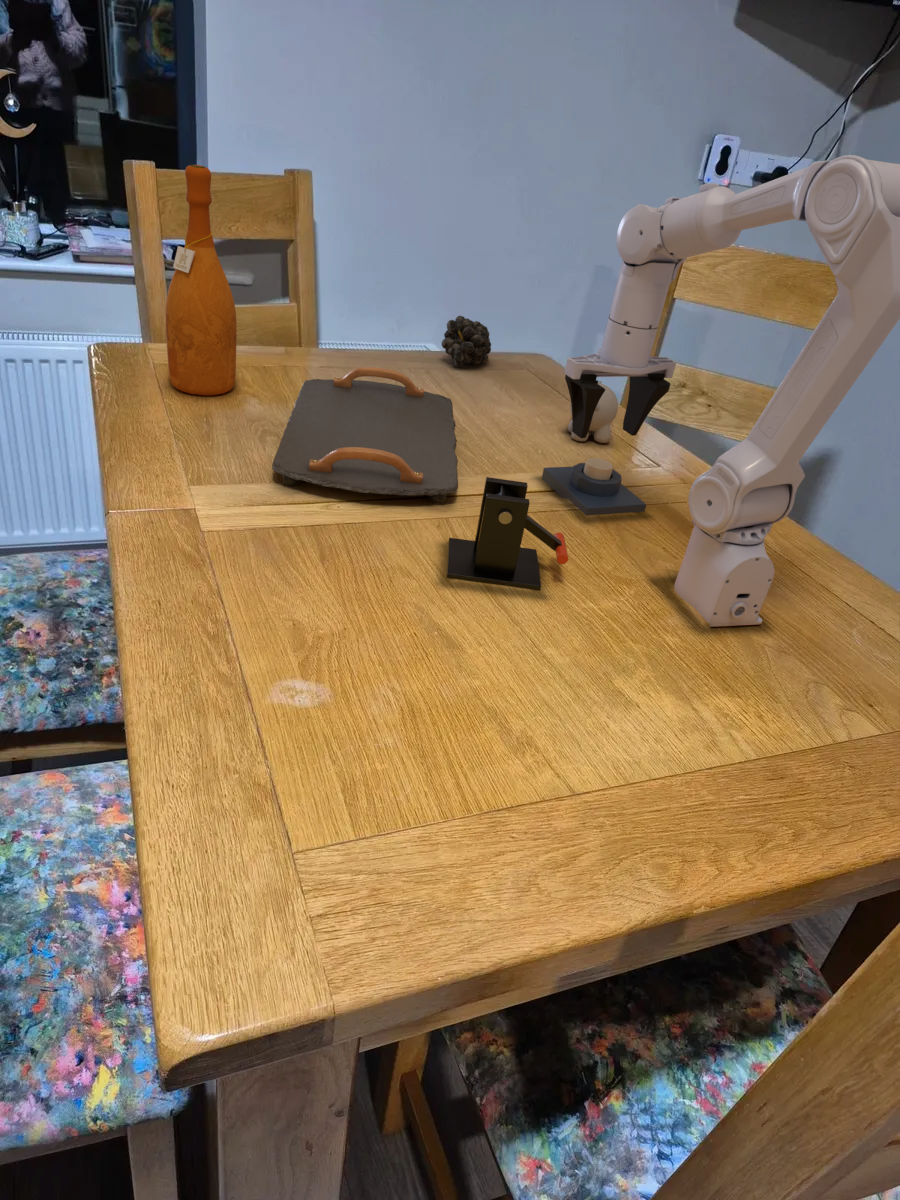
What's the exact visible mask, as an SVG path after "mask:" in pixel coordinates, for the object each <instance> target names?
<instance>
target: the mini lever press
mask: <svg viewBox="0 0 900 1200" xmlns="http://www.w3.org/2000/svg"><path fill="white" fill-rule="evenodd" d="M501 486H503V487H505V488H506V489H507V490H508V491H510V492H511V493H512V494H514V495H515V496H516V497H510V496H503V495H496V494H494V493H495V492H496V491H497V490H498V489H499V488H500V487H501ZM528 487H529V486H528V482H524V481H517V480H511V479H504V478H503V479H502V478H496V477H489V476H486V478H485V482H484V488H483V494H482V498H481V499H482V500H481V505H480V510H479V516H478V520H477V528H476V533H475V538H474V540H470V539H463V538H456V537H448V543H447V545H448V547H447V559H446V560H447V562H446V563H447V564H446V579H451V580H460V581H464V582H465V581H466V582H473V583H481V584H488V585H496V586H503V587H508V588H509V587H510V588H518V589H524V590H533V591H541V588H542V583H541V576H540V568H539V559H538V551H537V549H535V548H528V547H521V545H522V542H523V536H524V532H525V528H524V527H525V523H526V518H527V515H528V513H529V508H530V504H531V503H530V499H529V498H526V496H527V492H528ZM517 497H518V498H517Z"/></svg>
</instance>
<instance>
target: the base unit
mask: <svg viewBox="0 0 900 1200" xmlns="http://www.w3.org/2000/svg"><path fill="white" fill-rule="evenodd" d="M585 463H586V462H579V463H577V464H575V465H573V466H554V467H553V466H550V467H543V471H542V475H541V480H543V482H544V483H546V484H547V486H549V488H551V489H552V490H553V491H554V492H555V493H556V494H557V495H558V496H559V497H560V498H561V499H567V500H569V501H570V502H571V504H573V505H574V506H575V507H576V508H577V509H578V510H579V511H580V512H581V513H582V514H583V515H584V516H600V515H615V514H629V513H644V512H645V511H646V507H647V503H646V502H644V501H643V500H642V499H641V498H639V497H638V496H637V495H636V494H634V493H633V491H631V490H630V489H629V488H628V487H626V485H624V484H623V483H622V474H620V472H618V471H617V470H615V468H613V469H612V473H611V477H610V479H609V480H597V479H593V478H590V477H588V476H586V475H585V474H583V471H584V467H585Z"/></svg>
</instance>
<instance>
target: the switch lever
mask: <svg viewBox="0 0 900 1200" xmlns="http://www.w3.org/2000/svg"><path fill="white" fill-rule="evenodd" d="M494 494H496V495H503V496H510V497H516V496H515V495H514V494H512V493H511V492H510V491H508V490H507V489H506V488H505V487H503V486H501V487H500V488H499V489H498V490H497V491H496V492H495V493H494ZM517 498H518V497H517ZM524 530H526V531H528V532H529V533H530V534H532V535H533V536H534V537H536V538H537V539H538V540H539V541H541V542H542V543H543V544H545V545H546V546H547V547H549V548H550V549H552V550H553V551H554V552H555V556H556V561H557V563H558V564H559V565H565V564H567V563H568V562H569V554H568V549H567V544H566V539H565V534H564V533H562V532H555V533H554V534H553V533H552V532H550V531H549V530H548V529H546V528H545V527H544V526H543V525H541V523H539V522H537V521H536V520H535V519H533V518H532V517H530V516H529V515H528V514H527V518H526V523H525V527H524Z"/></svg>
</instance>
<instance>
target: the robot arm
mask: <svg viewBox="0 0 900 1200" xmlns="http://www.w3.org/2000/svg"><path fill="white" fill-rule="evenodd" d="M698 191H699V192H697V193H695V194H691V195H689V196H685V197H683V198H680V197H677V196H671V197H669V198H666V199H665V201H664V204H662V205H660V206H659V207H653V206H650V205H647V204H642V203H638V204H636V205H635V206H634V207H632V208H631V209H629V210H627V211H626V213H625V214H624V215H623V217H622V218H621V220H620V222H619V224H618V228H617V232H616V247H617V252H618V254H619V257H620V258H621V263H620V268H619V271H618V277H617V281H616V284H615V288H614V293H613V297H612V300H611V301H612V302H611V306H610V310H609V314H608V318H607V323H606V327H605V332H604V334H603V339H602V343H601V347H600V348H599V349H598V352H596V353H591V354H585V355H581V356H570V357H569V356H568V357H567V358H566V364H565V366H564V367H565V368H564V372H563V374H564V375H565V376H564V380H565V382H566V385H567V389H568V393H569V397H570V406H571V405H572V415H571V417H572V419H571V420H572V432H573V433H574V434H576V435H577V436H578V437H580V438H586V436H587V434H588V431H589V428H590V425H591V421H592V417H593V414H594V411H595V409H596V406H597V404H598V402H599V400H600V398H601V397H602V395H603V393H604V392H605V388H603V387H602V386H600V385H599V384H598V382H599V380H597V379H598V378H617V377H619V378H623V377H625V378H626V377H627V378H629V389H628V398H627V403H626V408H625V412H624V417H623V421H622V422H623V423H622V430H623V431H624V432H626V433H627V434H629V435H630V436H637V434H638V432H639V431H640V429H641V427H642V425H643V424H644V422H645V421H646V419H647V417H648V415H649V414H650V412H651V411H652V410H653V408H654V407H655V406H656V405H657V403H658V402H659V401H660V400H661V399H662V398H663V397H664V396H665V395H667V393H669V392H670V388H671V383H670V382H669V381H667V380H666V379H672V378H673V377H674V374H675V369H676V366H677V362H676V361H675V360H673V359H671V358H669V357H667V356H653V355H651V354H652V351H653V347H654V344H655V339H656V336H657V333H658V329H659V325H660V321H661V318H662V314H663V311H664V307H665V303H666V299H667V296H668V292H669V288H670V286H671V283H673V281H674V280H676V278H677V274H678V271H679V269H680V267H681V265H682V264H683V263H684V262H685V261H686V260H688V258H691V257H695V256H698V255H699V256H700V255H703V254H706V253H712V252H716V251H719V250H724V249H727V248H729V247H731V246H732V245H734V243H736V241H737V240H738V238H739V237H740V235H741V233H742V231H744V230H749V229H754V228H758V227H763V226H769V225H773V224H778V223H783V222H786V221H791V220H797V221H800V222H806V225H807V227H808V230H809V232H810V234H811V235H812V237H813V239H814V241H815V243H816V244H817V246H818V248H819V250H820V252H821V254H822V256H823V258H824V259H825V261H826V263H827V265H828V267H829V269H830V271H831V272H832V274H833V276H834V278H835V279H834V280H835V284H836V286H837V287H836V288H837V294H836V296H835V297H834V299H833V301H832V302H831V303H830V305H829V306H828V308H827V310H826V311H825V313H824V314H823V316H822V318H821V319H820V321H819V322H818V324H817V326H816V327H815V329H814V331H813V332H812V334H811V335H810V337H809V338H808V340H807V341H806V343H805V345H804V346H803V347H802V350H801V351H800V352H799V354H798V356H796V359H795V360H794V362H793V364H792V365H791V367H790V368H789V369H788V371H787V373H786V374H785V376H784V377H783V379H782V381H781V382H780V384H779V386H778V387H777V389H776V390H775V392H774V393H773V395H772V396H771V398H770V400H769V401H768V403H767V404H766V406H765V408H764V409H763V411H762V413H761V414H760V415H759V417H758V419H757V420H756V422H755V423H754V424H753V426H752V428H751V430H750V431H749V433H748V435H747V436H746V438H745V439H743V440H742V441H740V442H739V443H737V444H736V445H734V446H733V447H731V448H730V449H728V450H727V451H725V452H724V453H722V454H721V455H719V456H718V457H717V459H716V460H715V462H714V464H713V465H712V466H711V468H709V469H708V470H707V471H705V472H703V473H701V474H699V475H698V476H697V477H696V478H695V479H694V481H693V482H692V484H691V486H690V489H689V493H688V498H687V499H688V500H687V501H688V503H687V504H688V510H689V514H690V516H691V518H692V521H691V524H693V525H694V526H693V529H692V531H691V535H690V537H689V541H688V543H687V547H686V550H685V552H684V555H683V558H682V561H681V563H680V567H679V570H678V573H677V576H676V578H675V581H674V584H673V588H674V591H675V593H676V594H677V596H678V597H679V598H680V599H682V600H683V601H684V602H685V603H687V604H688V605H690V607H692V608H694V610H695V611H696V612H697V613H698V614H699V615H700V616H701V617H702V619H703V620H704V621H705V622H707V624H708V625H709V627H711V628H712V627H713V628H714V627H715V628H716V627H732V626H734V627H735V626H754V625H757V626H758V625H761V624H762V623H763V619H762V617H760V612H761V610H762V608H763V606H764V603H765V600H766V598H767V595H768V593H769V591H770V588H771V586H772V583H773V581H774V578H775V573H776V572H775V571H776V570H775V565H774V563H773V561H772V560H771V558H770V556H769V555H768V553H767V550H766V547H765V546H766V545H765V540H766V537H767V535H768V534H770V533H771V531H772V528H773V525H774V524H776V523H779V522H781V521H783V520H784V519H786V517H787V516H789V514H790V513H791V511H792V509H793V507H794V504H795V500H796V499H795V498H796V494H797V490H798V488H799V487H800V485H801V483H802V482H803V480H804V479H805V477H806V475H805V472H804V470H803V467H802V466H801V464H800V461H801V459H802V458H803V456H804V455H805V454H806V452H807V451H808V449H809V448H810V446H811V445H812V444H813V442H814V441H815V440H816V438H817V436H818V435H819V434H820V432H821V431H822V430H823V428H824V426H825V425H826V424H827V422H828V421H829V420H830V418H831V417H832V415H833V414H834V412H835V411H836V409H838V407H839V406H840V404H841V403H842V401H843V400H844V398H845V397H846V396H847V394H848V392H849V391H850V390H851V388H852V387H853V385H854V384H855V383H856V381H857V380H858V379H859V377H860V376H861V374H862V373H863V371H864V370H865V368H866V367H867V365H868V364H869V363H870V362H871V360H872V358H874V356H875V355H876V353H877V351H878V350H879V349H880V347H881V346H882V344H884V342H885V340H886V339H887V338H888V336H889V335H890V333H891V332H892V330H893V329H894V328H895V326H896V324H898V322H899V321H900V163H893V162H886V161H880V160H872V159H867V158H864V157H862V156H859V155H855V154H854V155H853V154H847V155H846V154H845V155H842V156H838V157H836V158H833V159H832V160H819V161H814V162H812V163H811V164H809V165H808V166H805V167H804V168H802V169H799V170H796V171H793V172H790V173H788V174H786V175H783V176H780V177H778V178H775V179H773V180H770V181H767V182H764V183H761V184H759V185H756V186H754V187H752V188H749V189H746V190H743V191H741V192H738V193H736V192H734V191H733V190H732V189H730V188H729V187H727V186H723V185H722V186H720V184H719V183H716V182H715V183H714V182H707V183H704V184H701V185H700V186H699V190H698Z"/></svg>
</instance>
